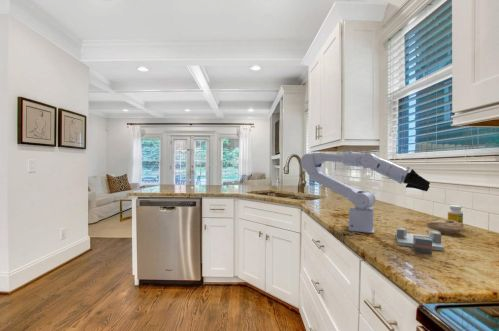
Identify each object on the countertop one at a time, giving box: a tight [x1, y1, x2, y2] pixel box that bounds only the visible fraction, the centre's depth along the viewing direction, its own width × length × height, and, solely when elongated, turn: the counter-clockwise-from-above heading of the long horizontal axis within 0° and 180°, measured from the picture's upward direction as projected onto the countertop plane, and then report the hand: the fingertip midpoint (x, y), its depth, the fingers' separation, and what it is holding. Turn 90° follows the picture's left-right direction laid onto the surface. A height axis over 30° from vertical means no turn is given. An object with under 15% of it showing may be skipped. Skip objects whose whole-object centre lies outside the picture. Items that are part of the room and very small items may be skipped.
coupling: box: [412, 234, 433, 256], centre depth 88 cm, size 5×5×4 cm
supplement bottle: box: [447, 204, 464, 224], centre depth 120 cm, size 5×5×10 cm
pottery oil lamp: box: [426, 219, 466, 235], centre depth 111 cm, size 9×12×7 cm
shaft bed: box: [395, 226, 445, 252], centre depth 97 cm, size 13×14×4 cm
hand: (428, 187), depth 99 cm, fingers open, 7 cm apart
